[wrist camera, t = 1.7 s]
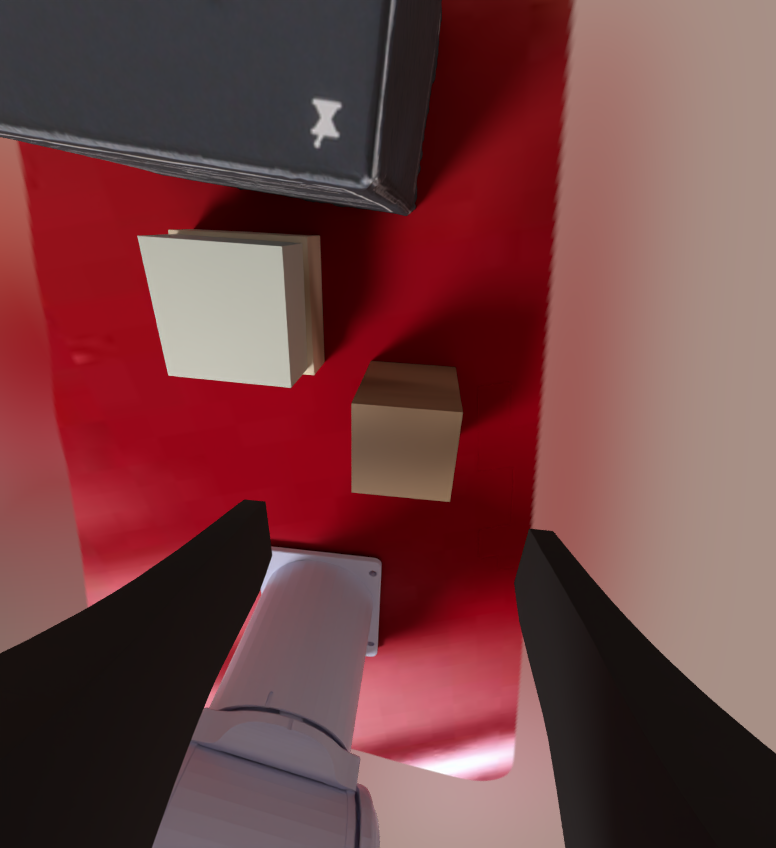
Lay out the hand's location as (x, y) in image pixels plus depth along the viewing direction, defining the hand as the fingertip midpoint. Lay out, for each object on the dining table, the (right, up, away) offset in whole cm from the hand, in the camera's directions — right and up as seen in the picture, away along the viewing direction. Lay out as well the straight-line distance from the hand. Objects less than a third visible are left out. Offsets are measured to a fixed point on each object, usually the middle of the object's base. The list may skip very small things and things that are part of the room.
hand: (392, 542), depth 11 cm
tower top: (-6, +8, +5) cm, 11 cm away
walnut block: (+1, +4, +8) cm, 10 cm away
